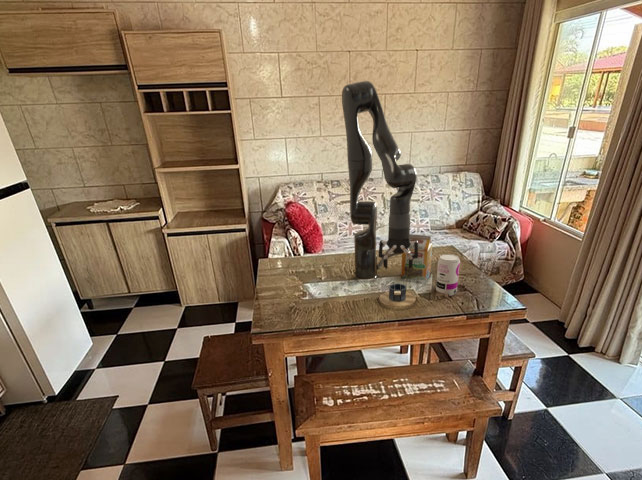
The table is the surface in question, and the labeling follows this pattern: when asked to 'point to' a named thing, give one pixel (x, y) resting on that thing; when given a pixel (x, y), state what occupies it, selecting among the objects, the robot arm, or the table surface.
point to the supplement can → (447, 274)
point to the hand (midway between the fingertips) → (397, 268)
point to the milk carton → (418, 259)
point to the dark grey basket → (397, 292)
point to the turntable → (409, 300)
